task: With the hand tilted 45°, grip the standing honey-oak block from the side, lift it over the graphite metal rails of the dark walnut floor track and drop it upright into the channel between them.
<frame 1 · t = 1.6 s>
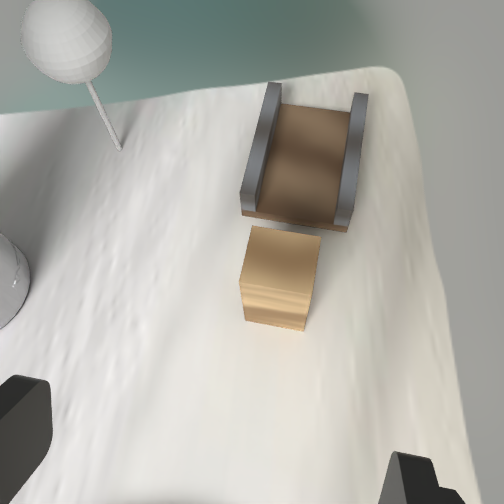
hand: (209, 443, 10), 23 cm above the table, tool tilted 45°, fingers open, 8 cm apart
walnut track: (304, 166, 41), on the table
lollipop: (120, 150, 43), on the table
oak block: (278, 301, 36), on the table
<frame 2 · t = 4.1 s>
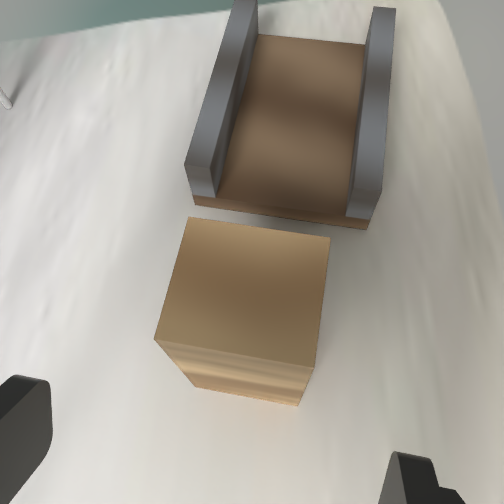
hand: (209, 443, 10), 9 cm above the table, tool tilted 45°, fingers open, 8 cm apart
walnut track: (295, 127, 26), on the table
lollipop: (10, 108, 28), on the table
oak block: (254, 351, 21), on the table
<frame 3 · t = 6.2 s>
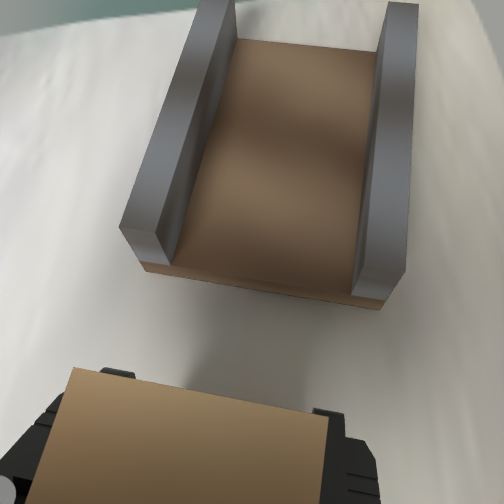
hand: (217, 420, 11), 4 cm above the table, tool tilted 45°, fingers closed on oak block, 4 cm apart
walnut track: (284, 161, 20), on the table
oak block: (219, 498, 14), on the table, touching gripper
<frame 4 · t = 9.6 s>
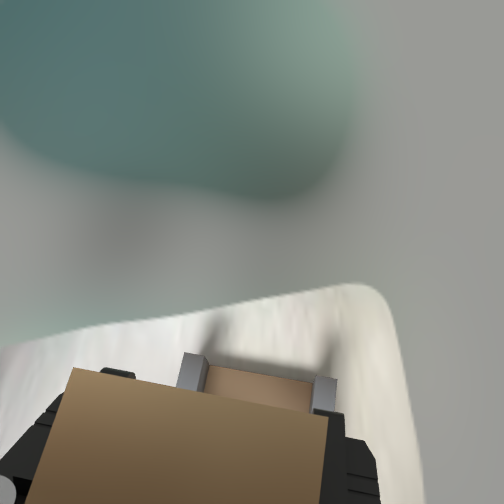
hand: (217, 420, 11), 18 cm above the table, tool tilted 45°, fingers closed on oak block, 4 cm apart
walnut track: (243, 479, 27), on the table
oak block: (219, 498, 14), point 14 cm above the table, touching gripper
when the fingers open (7 cm above the table, at t = 13.2 s): oak block drops 1 cm, resting on walnut track.
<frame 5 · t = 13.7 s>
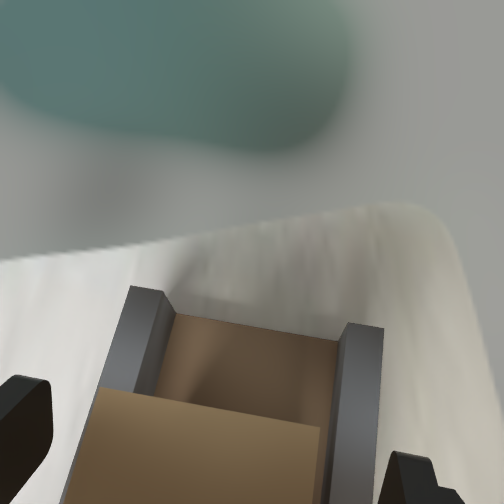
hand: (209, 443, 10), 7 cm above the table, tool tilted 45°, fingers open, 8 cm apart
walnut track: (225, 495, 16), on the table
oak block: (224, 498, 15), point 1 cm above the table, touching walnut track
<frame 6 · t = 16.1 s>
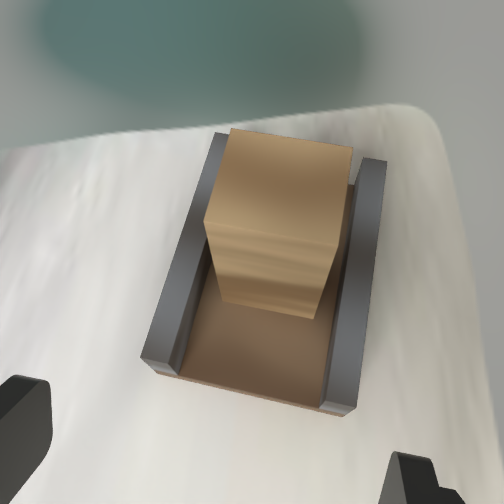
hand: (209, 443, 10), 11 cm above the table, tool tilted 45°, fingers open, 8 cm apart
walnut track: (273, 279, 24), on the table
oak block: (275, 272, 23), point 1 cm above the table, touching walnut track
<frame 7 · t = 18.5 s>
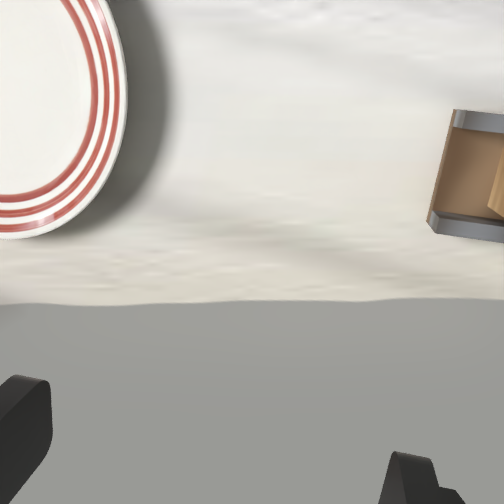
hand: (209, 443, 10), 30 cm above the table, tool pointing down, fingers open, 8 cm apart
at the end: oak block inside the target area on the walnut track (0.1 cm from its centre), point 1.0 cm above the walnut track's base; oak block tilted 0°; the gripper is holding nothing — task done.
